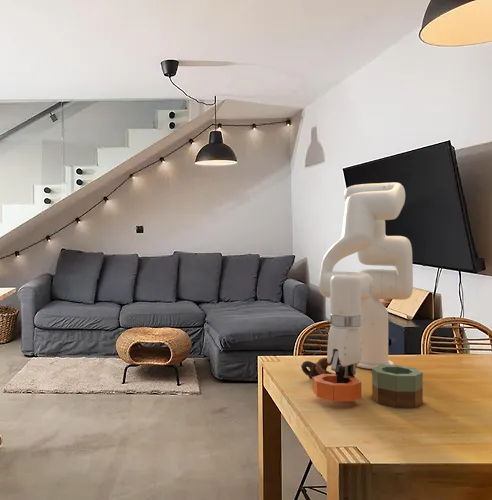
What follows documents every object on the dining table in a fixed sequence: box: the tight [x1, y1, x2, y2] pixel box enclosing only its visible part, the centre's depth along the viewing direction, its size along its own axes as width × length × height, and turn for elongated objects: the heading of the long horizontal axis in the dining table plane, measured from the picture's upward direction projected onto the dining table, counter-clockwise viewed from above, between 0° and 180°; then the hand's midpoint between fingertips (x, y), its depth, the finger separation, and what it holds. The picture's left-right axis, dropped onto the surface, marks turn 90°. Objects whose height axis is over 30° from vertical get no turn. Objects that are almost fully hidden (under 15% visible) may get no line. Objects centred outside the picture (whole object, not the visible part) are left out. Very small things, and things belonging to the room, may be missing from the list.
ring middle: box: [371, 364, 424, 392], centre depth 138 cm, size 11×11×4 cm
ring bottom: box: [371, 382, 424, 409], centre depth 138 cm, size 11×11×4 cm
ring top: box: [312, 374, 363, 402], centre depth 138 cm, size 11×11×4 cm
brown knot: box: [300, 357, 344, 380], centre depth 156 cm, size 12×10×8 cm
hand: (345, 389), depth 141 cm, fingers closed on ring top, 2 cm apart
